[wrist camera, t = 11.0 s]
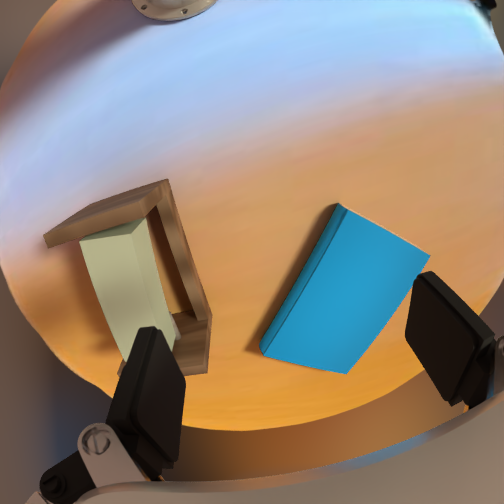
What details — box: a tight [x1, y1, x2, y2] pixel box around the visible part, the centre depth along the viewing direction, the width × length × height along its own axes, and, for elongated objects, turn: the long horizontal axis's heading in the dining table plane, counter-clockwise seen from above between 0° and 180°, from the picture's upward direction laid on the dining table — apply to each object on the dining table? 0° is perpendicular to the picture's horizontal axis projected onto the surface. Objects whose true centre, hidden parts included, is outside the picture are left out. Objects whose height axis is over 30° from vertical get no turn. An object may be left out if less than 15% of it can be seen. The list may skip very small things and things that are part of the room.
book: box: [259, 203, 430, 374], centre depth 42 cm, size 17×4×25 cm
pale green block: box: [79, 218, 176, 362], centre depth 31 cm, size 16×6×5 cm, turn 5°
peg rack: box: [43, 179, 212, 377], centre depth 33 cm, size 21×12×12 cm, turn 12°
